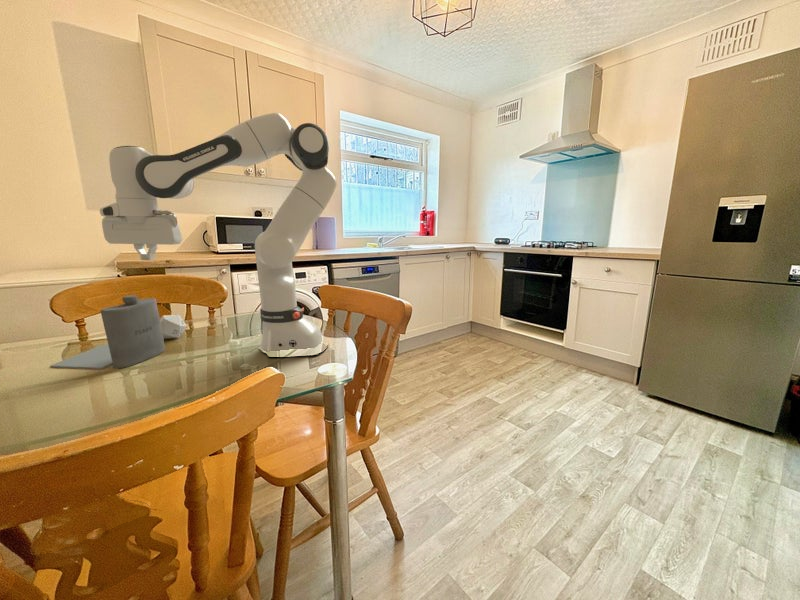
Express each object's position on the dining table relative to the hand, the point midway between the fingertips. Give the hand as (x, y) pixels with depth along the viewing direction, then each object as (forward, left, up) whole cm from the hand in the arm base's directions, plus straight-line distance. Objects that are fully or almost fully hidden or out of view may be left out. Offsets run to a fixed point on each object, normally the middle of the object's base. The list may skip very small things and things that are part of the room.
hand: (148, 260), depth 92 cm
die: (+12, -18, -31) cm, 38 cm away
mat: (+21, 0, -31) cm, 37 cm away
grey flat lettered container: (+8, 0, -31) cm, 32 cm away
